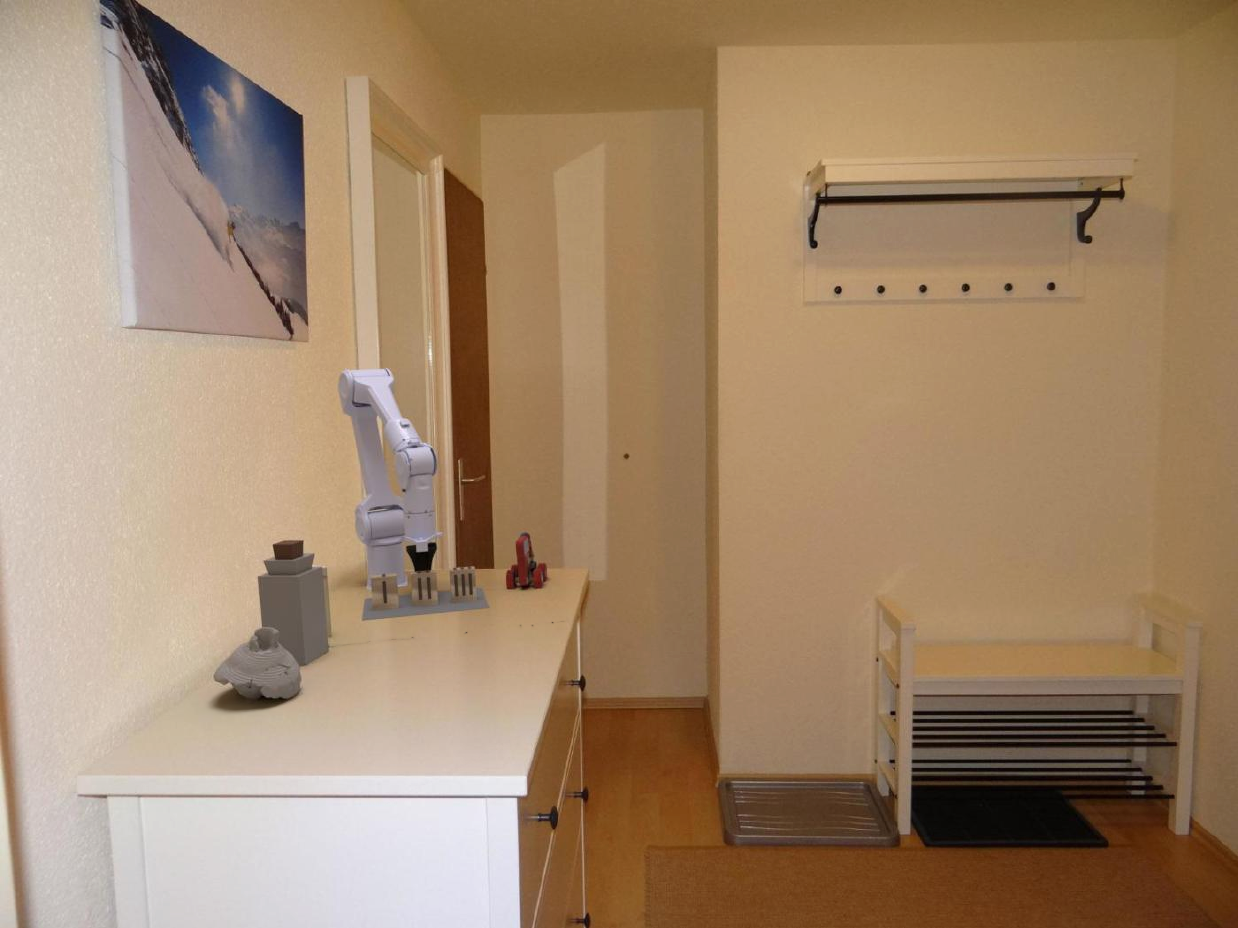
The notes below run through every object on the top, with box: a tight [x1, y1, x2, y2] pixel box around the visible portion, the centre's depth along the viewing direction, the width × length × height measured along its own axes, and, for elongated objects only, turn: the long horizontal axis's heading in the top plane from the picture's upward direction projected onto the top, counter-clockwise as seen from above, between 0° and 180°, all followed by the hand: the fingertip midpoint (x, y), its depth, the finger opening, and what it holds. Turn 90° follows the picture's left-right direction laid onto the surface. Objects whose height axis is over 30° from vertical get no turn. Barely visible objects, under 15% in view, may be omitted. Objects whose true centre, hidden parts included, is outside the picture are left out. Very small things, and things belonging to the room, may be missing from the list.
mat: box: [361, 586, 490, 621], centre depth 169 cm, size 16×22×1 cm
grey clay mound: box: [213, 627, 302, 700], centre depth 125 cm, size 12×12×11 cm
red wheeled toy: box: [505, 531, 548, 590], centre depth 181 cm, size 7×12×10 cm, turn 177°
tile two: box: [410, 569, 438, 607], centre depth 167 cm, size 2×4×6 cm, turn 103°
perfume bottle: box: [257, 539, 330, 666], centre depth 140 cm, size 7×7×18 cm
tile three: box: [449, 565, 477, 603], centre depth 169 cm, size 2×4×6 cm, turn 103°
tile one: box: [370, 573, 399, 611], centre depth 166 cm, size 2×4×6 cm, turn 103°
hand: (423, 582), depth 173 cm, fingers closed
